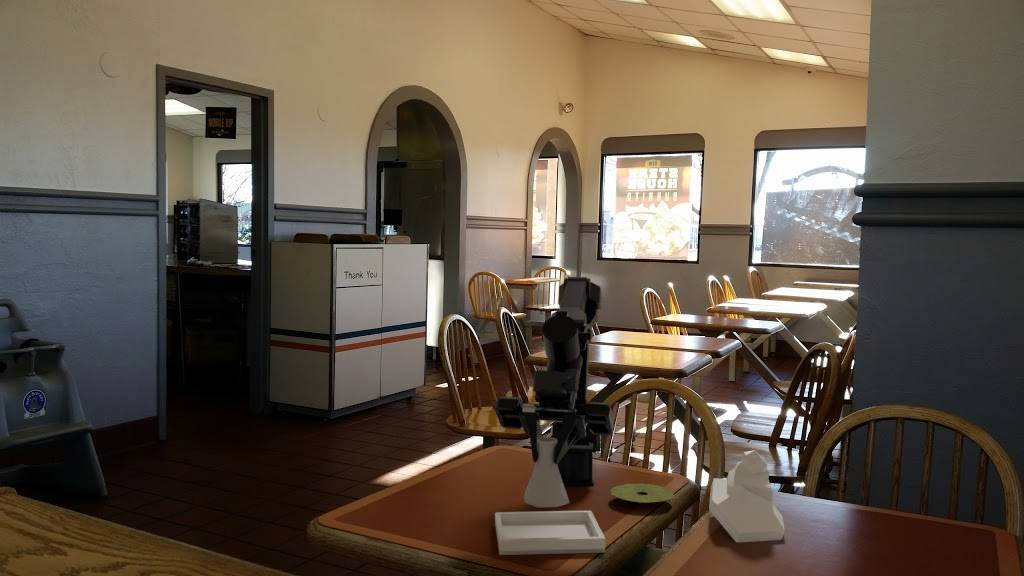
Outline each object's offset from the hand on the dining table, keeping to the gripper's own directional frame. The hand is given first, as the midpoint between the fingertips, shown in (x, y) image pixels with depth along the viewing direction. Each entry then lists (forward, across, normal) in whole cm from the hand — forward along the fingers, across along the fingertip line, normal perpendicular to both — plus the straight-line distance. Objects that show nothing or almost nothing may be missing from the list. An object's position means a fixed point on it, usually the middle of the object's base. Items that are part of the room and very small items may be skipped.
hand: (544, 461), depth 129 cm
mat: (-8, +12, +27) cm, 30 cm away
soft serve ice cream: (-2, +30, +21) cm, 37 cm away
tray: (+8, 0, +10) cm, 13 cm away
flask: (+4, 0, +6) cm, 7 cm away
